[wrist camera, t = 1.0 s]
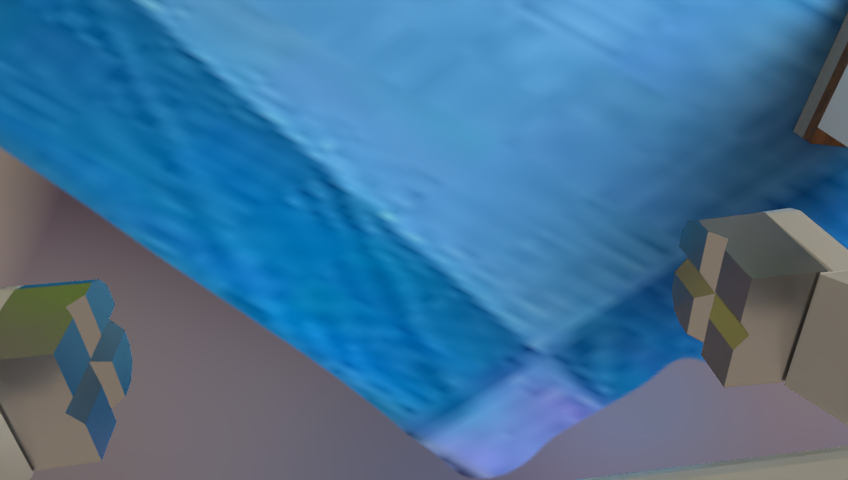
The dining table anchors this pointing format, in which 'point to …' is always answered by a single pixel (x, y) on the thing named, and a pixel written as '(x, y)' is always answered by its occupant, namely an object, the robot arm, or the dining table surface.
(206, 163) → the dining table surface
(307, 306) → the dining table surface
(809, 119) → the beige notched post
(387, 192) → the dining table surface
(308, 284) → the dining table surface
